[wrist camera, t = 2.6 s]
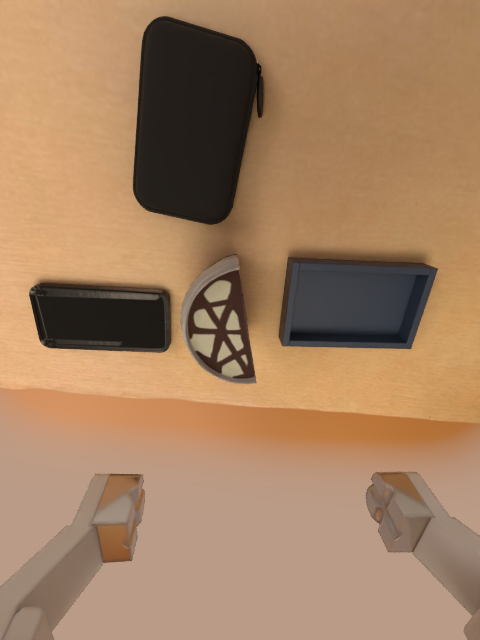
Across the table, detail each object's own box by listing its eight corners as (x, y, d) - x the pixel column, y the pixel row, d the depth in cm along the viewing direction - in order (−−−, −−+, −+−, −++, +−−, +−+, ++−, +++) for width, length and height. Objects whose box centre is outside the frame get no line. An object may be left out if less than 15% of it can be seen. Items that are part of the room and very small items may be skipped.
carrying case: (237, 228, 31) (272, 58, 26) (238, 232, 29) (278, 42, 23) (136, 206, 30) (148, 20, 24) (127, 208, 27) (139, -2, 21)
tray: (423, 263, 34) (438, 268, 32) (399, 339, 38) (411, 349, 36) (288, 257, 33) (292, 262, 31) (278, 336, 37) (282, 346, 35)
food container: (179, 249, 32) (161, 273, 23) (234, 240, 32) (238, 261, 23) (201, 345, 37) (193, 397, 28) (249, 338, 37) (257, 388, 28)
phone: (27, 285, 31) (168, 293, 33) (33, 282, 33) (169, 290, 34) (41, 348, 35) (169, 354, 36) (46, 344, 36) (171, 349, 37)
